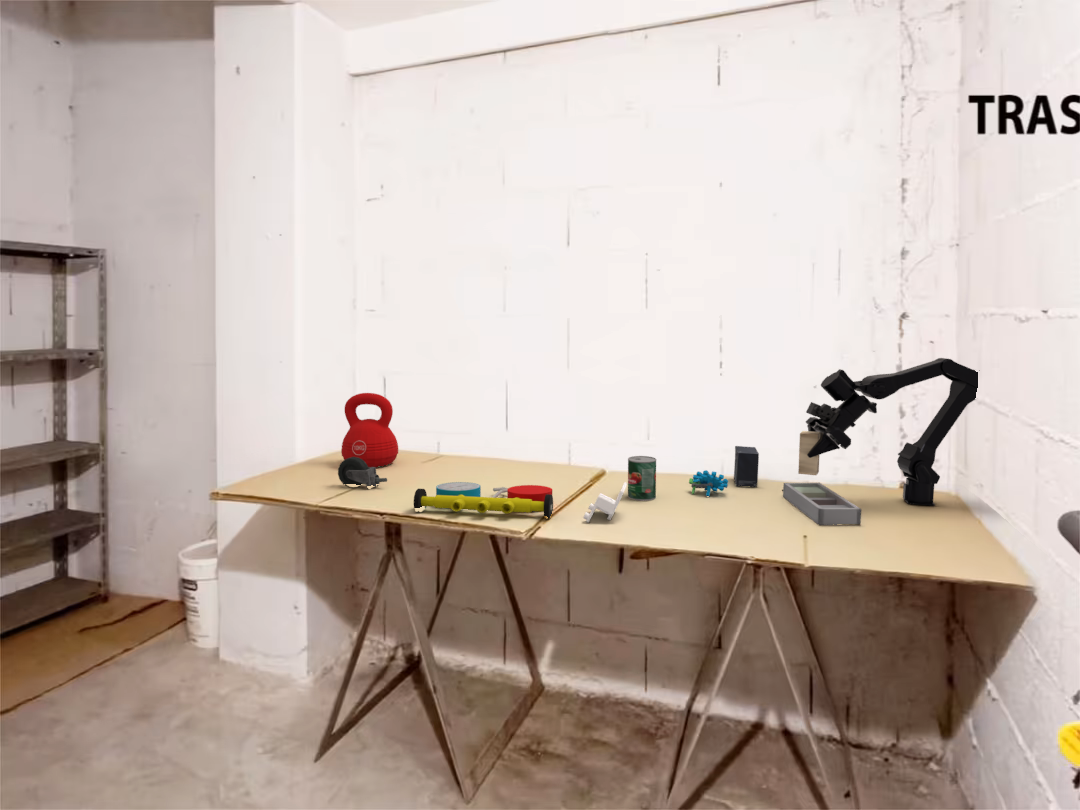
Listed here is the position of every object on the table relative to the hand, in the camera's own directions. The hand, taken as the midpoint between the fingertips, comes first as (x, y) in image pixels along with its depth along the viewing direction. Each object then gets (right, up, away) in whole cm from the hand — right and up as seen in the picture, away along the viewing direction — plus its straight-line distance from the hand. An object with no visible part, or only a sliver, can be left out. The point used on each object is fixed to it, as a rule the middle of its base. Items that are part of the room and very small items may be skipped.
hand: (804, 454), depth 186 cm
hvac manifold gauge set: (-85, -15, +1) cm, 86 cm away
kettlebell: (-130, -8, +52) cm, 140 cm away
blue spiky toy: (-23, -12, +11) cm, 29 cm away
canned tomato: (-43, -13, +8) cm, 45 cm away
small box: (-9, -11, +23) cm, 27 cm away
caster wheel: (-124, -12, +21) cm, 127 cm away
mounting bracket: (-55, -16, -11) cm, 58 cm away
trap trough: (+2, -14, -5) cm, 15 cm away
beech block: (+1, -5, +1) cm, 5 cm away
